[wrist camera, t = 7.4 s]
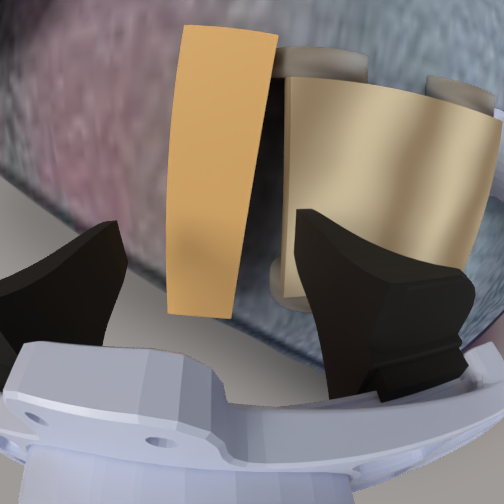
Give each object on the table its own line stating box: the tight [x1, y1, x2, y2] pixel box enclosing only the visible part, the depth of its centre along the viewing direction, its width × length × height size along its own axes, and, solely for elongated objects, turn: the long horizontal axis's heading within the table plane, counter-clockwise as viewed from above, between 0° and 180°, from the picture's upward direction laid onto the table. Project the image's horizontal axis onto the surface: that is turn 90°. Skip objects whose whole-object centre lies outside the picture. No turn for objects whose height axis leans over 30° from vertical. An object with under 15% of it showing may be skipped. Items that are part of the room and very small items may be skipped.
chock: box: [166, 25, 278, 319], centre depth 16 cm, size 4×16×5 cm, turn 171°
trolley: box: [270, 47, 503, 313], centre depth 16 cm, size 15×15×5 cm
